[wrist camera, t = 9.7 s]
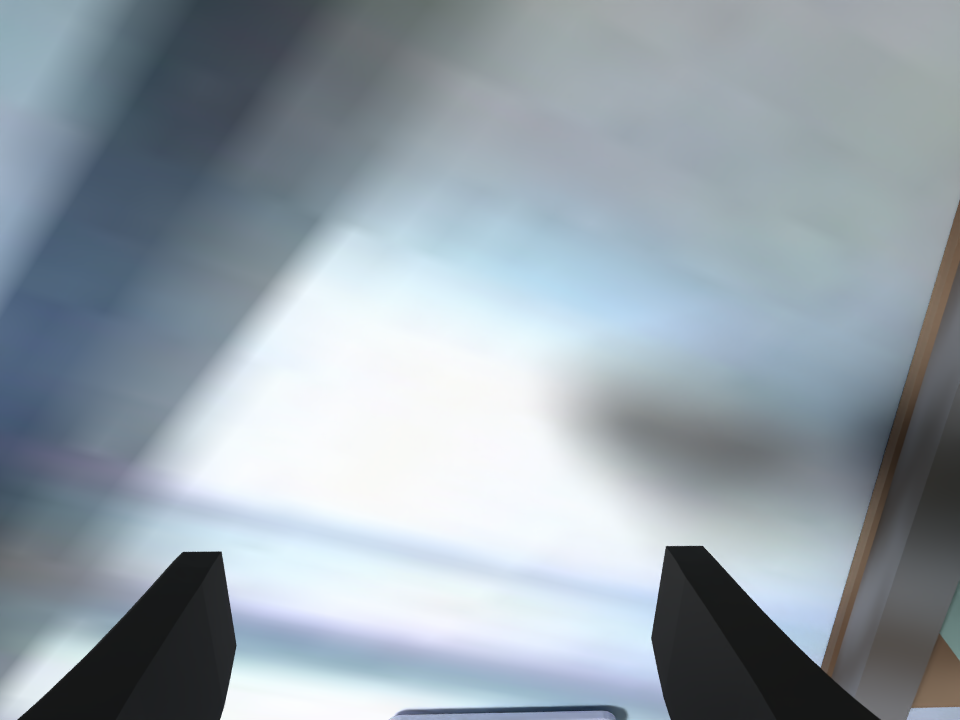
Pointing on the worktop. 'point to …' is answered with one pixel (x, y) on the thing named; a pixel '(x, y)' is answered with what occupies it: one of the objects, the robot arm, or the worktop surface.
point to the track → (910, 533)
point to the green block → (953, 624)
